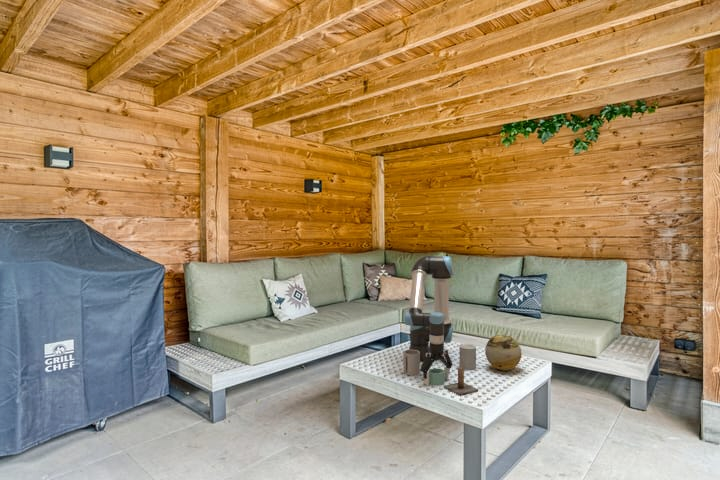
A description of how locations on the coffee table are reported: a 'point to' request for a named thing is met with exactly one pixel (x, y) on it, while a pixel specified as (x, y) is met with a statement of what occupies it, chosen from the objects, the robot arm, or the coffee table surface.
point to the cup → (411, 362)
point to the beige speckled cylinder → (467, 357)
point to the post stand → (461, 385)
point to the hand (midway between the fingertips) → (436, 382)
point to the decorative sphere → (503, 352)
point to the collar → (436, 376)
